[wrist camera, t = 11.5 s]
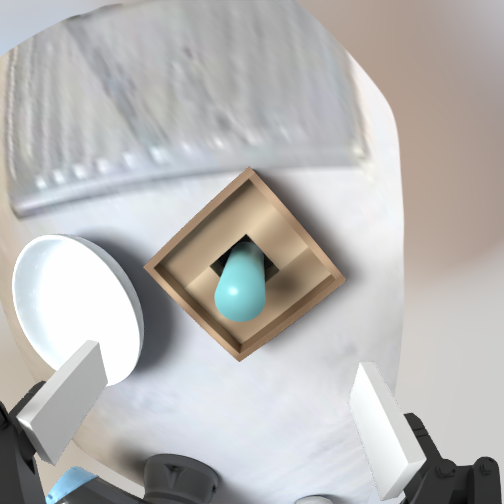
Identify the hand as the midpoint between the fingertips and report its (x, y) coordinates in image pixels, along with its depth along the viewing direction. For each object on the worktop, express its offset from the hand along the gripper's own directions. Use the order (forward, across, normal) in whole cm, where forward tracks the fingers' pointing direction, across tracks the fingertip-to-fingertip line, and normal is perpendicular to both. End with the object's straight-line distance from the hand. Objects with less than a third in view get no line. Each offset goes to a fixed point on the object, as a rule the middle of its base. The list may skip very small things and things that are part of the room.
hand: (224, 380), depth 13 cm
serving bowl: (+23, +21, +7) cm, 32 cm away
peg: (+22, 0, 0) cm, 22 cm away
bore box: (+22, 0, 0) cm, 22 cm away
